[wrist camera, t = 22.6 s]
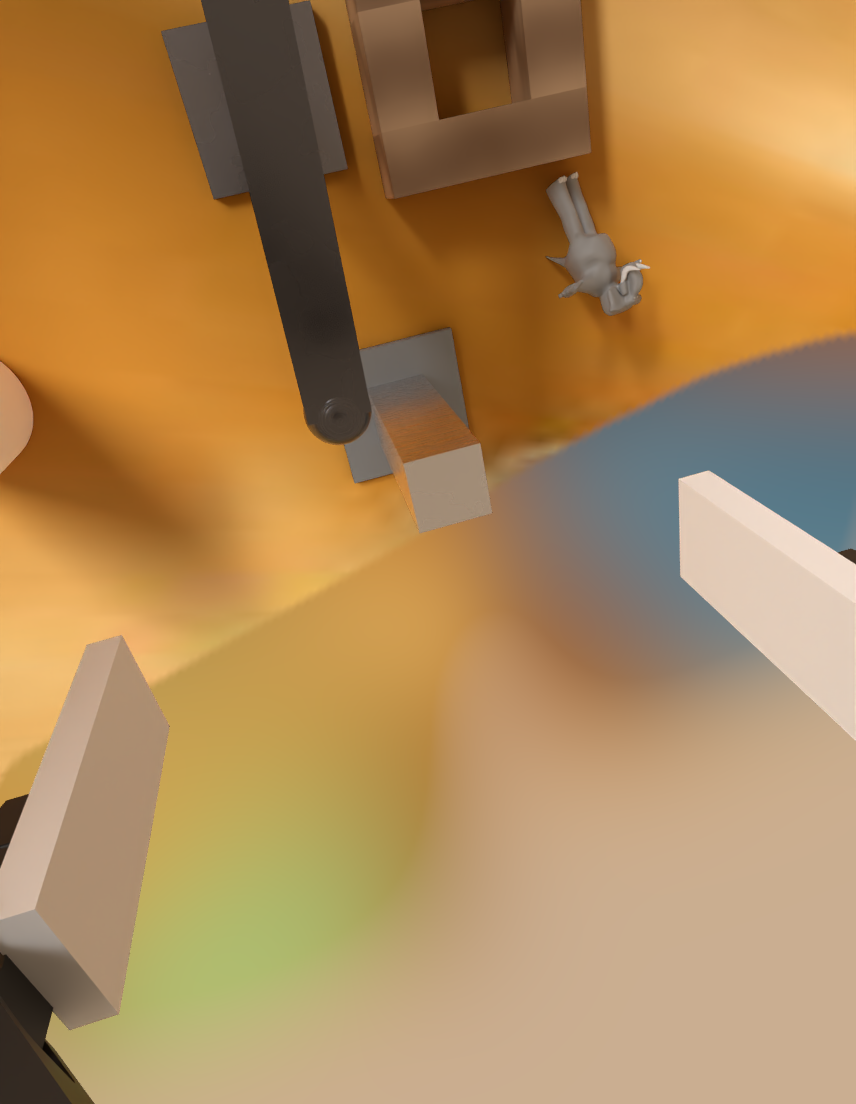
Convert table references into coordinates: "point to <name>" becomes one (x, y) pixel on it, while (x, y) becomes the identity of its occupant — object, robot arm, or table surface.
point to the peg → (430, 453)
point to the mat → (399, 362)
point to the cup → (13, 417)
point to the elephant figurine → (592, 253)
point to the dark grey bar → (291, 208)
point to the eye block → (479, 137)
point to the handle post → (211, 110)
